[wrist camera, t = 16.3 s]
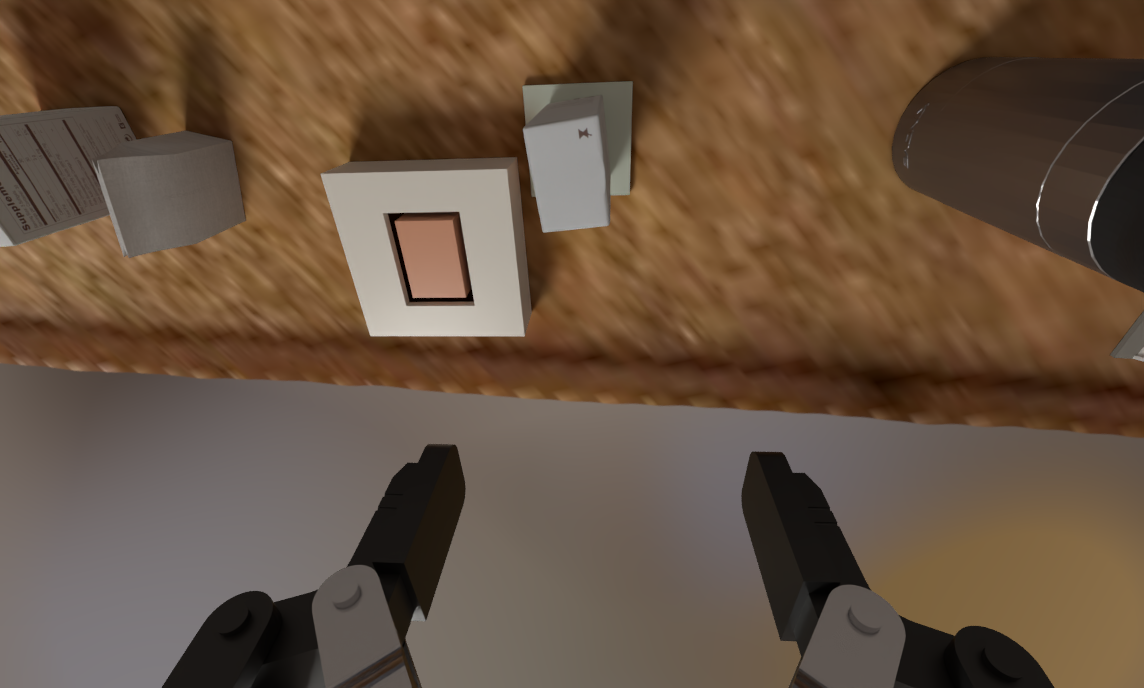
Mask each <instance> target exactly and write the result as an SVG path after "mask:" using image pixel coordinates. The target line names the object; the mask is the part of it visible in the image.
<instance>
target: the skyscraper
mask: <svg viewBox="0 0 1144 688" xmlns="http://www.w3.org/2000/svg"><path fill="white" fill-rule="evenodd" d="M1110 355H1111V356H1112V357H1114V358H1130V359H1136V360H1140V361H1144V311H1143V312H1142V314H1141V315H1140V316H1139V318H1138V319H1137V320H1136V322H1135V323H1134V324H1133V326H1132V327H1131V328H1130V329H1129V331H1128V332H1127V333H1126V335H1125V336H1124V337H1123V339H1122V340H1121V341H1120V343H1119V344H1118V345H1117V347H1116V348H1115V349H1114V350H1113V352H1112V353H1111V354H1110Z"/></svg>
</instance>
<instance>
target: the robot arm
mask: <svg viewBox="0 0 1144 688" xmlns="http://www.w3.org/2000/svg"><path fill="white" fill-rule="evenodd" d="M892 160H893V164H894V167H895V171H896V173H897V174H898V176H899V178H900V179H901V181H903V182H904V183H905V184H906V185H907V186H908V187H909V188H911V189H914V190H916V191H918V192H920V193H922V194H924V195H926V196H929V197H931V198H933V199H935V200H937V201H940V202H942V203H943V204H946V205H948V206H950V207H952V208H955V209H957V210H959V211H961V212H963V213H966V214H968V215H970V216H972V217H975V218H977V219H979V220H981V221H984V222H986V223H988V224H990V225H993V226H995V227H997V228H999V229H1002V230H1004V231H1006V232H1008V233H1010V234H1013V235H1015V236H1017V237H1019V238H1022V239H1024V240H1026V241H1028V242H1031V243H1033V244H1035V245H1037V246H1040V247H1042V248H1044V249H1046V250H1049V251H1051V252H1053V253H1055V254H1057V255H1060V256H1062V257H1065V258H1067V259H1069V260H1072V261H1074V262H1076V263H1078V264H1081V265H1083V266H1085V267H1087V268H1090V269H1092V270H1094V271H1096V272H1099V273H1101V274H1103V275H1105V276H1108V277H1110V278H1112V279H1115V280H1117V281H1119V282H1121V283H1123V284H1126V285H1128V286H1130V287H1133V288H1135V289H1137V290H1140V291H1142V292H1144V59H1098V58H1033V57H989V58H978V59H974V60H970V61H966V62H963V63H961V64H959V65H956V66H954V67H952V68H950V69H948V70H946V71H945V72H943V73H942V74H940V75H939V76H937V77H936V78H934V79H933V80H932V81H931V82H930V83H929V84H927V85H926V86H925V87H924V88H923V89H922V90H921V91H920V92H919V93H918V94H917V95H916V97H915V98H914V99H913V100H912V101H911V103H910V104H909V105H908V107H907V109H906V110H905V112H904V114H903V115H902V117H901V119H900V121H899V124H898V126H897V129H896V131H895V135H894V140H893V145H892ZM464 499H465V480H464V475H463V471H462V466H461V462H460V458H459V454H458V449H457V447H456V445H448V444H443V445H442V444H428V445H427V446H426V447H425V449H424V451H423V453H422V455H421V458H420V460H419V462H418V463H407V464H406V465H405V466H404V467H403V468H402V469H401V470H400V471H399V472H398V473H397V474H396V475H395V476H394V477H393V478H392V480H391V482H390V484H389V486H388V488H387V490H386V492H385V496H384V497H383V498H382V500H381V502H380V504H379V506H378V510H377V511H376V512H375V514H374V516H373V518H372V519H371V522H370V524H369V526H368V527H367V529H366V531H365V533H364V535H363V537H362V539H361V541H360V543H359V545H358V547H357V549H356V551H355V553H354V555H353V557H352V559H351V561H350V562H349V564H348V566H347V567H346V568H343V569H341V570H339V571H337V572H336V573H334V574H333V575H331V576H330V577H329V578H328V579H327V580H326V581H325V582H324V583H323V584H322V585H321V586H320V588H319V589H318V590H316V591H313V592H310V593H307V594H303V595H299V596H296V597H292V598H288V599H285V600H281V601H277V602H273V601H272V599H271V598H270V597H269V596H268V595H267V594H266V593H264V592H260V591H249V592H245V593H242V594H239V595H237V596H235V597H233V598H231V599H229V600H227V601H226V602H224V603H223V604H222V605H220V606H219V607H218V608H217V609H216V610H215V611H213V612H212V614H211V615H210V616H209V617H208V618H207V619H206V621H205V622H204V624H203V625H202V627H201V628H200V630H199V631H198V633H197V634H196V636H195V637H194V639H193V640H192V642H191V643H190V645H189V646H188V648H187V649H186V651H185V653H184V654H183V656H182V657H181V659H180V660H179V662H178V663H177V665H176V666H175V668H174V669H173V671H172V672H171V674H170V675H169V677H168V679H167V680H166V682H165V683H164V685H163V686H162V688H422V687H421V683H420V680H419V677H418V675H417V671H416V669H415V666H414V663H413V660H412V657H411V654H410V651H409V648H408V645H407V642H406V639H405V637H406V634H407V631H408V628H409V626H410V622H411V621H426V619H427V616H428V613H429V610H430V607H431V604H432V600H433V597H434V594H435V591H436V588H437V585H438V582H439V579H440V576H441V573H442V569H443V566H444V563H445V560H446V557H447V554H448V551H449V548H450V544H451V541H452V538H453V535H454V532H455V529H456V526H457V523H458V520H459V516H460V513H461V510H462V507H463V504H464ZM742 509H743V514H744V517H745V521H746V524H747V528H748V531H749V534H750V538H751V541H752V545H753V548H754V551H755V555H756V558H757V562H758V565H759V569H760V571H761V575H762V579H763V582H764V585H765V589H766V592H767V596H768V599H769V603H770V606H771V609H772V613H773V616H774V620H775V623H776V626H777V630H778V633H779V637H780V640H781V641H797V644H798V648H799V651H800V654H801V659H800V661H799V664H798V666H797V668H796V671H795V673H794V676H793V678H792V680H791V683H790V685H789V688H1054V686H1053V685H1052V683H1051V682H1050V680H1049V679H1048V677H1047V675H1046V674H1045V672H1044V671H1043V669H1042V668H1041V667H1040V665H1039V664H1038V662H1037V661H1036V660H1035V659H1034V658H1033V657H1032V656H1031V655H1030V654H1029V653H1028V652H1027V651H1026V650H1025V649H1024V648H1023V647H1021V646H1020V645H1019V644H1018V643H1016V642H1015V641H1013V640H1012V639H1010V638H1009V637H1007V636H1005V635H1003V634H1001V633H1000V632H997V631H995V630H992V629H989V628H986V627H981V626H968V627H965V628H962V629H961V630H960V631H959V632H958V633H957V634H956V635H955V636H953V635H951V634H947V633H945V632H942V631H939V630H935V629H933V628H929V627H927V626H924V625H921V624H918V623H915V622H912V621H910V620H908V619H906V618H904V617H902V616H900V615H898V614H897V612H896V611H895V610H894V608H893V607H892V606H891V605H890V604H889V603H888V602H887V601H886V600H884V599H883V598H882V597H881V596H879V595H878V594H876V593H874V592H873V591H871V589H870V588H869V586H868V584H867V582H866V581H865V578H864V576H863V574H862V572H861V570H860V568H859V566H858V564H857V562H856V560H855V558H854V556H853V554H852V552H851V550H850V548H849V546H848V544H847V542H846V540H845V538H844V536H843V534H842V531H841V529H840V527H838V526H837V521H836V519H835V517H834V515H833V513H832V511H830V507H829V505H828V503H827V501H826V499H825V497H824V495H823V492H822V490H821V489H820V488H819V487H818V486H817V485H816V484H815V483H814V482H813V481H812V480H811V479H810V478H809V477H808V476H807V475H806V474H805V473H792V470H791V469H790V466H789V464H788V461H787V459H786V457H785V455H784V454H783V453H782V452H751V454H750V457H749V462H748V466H747V471H746V475H745V479H744V484H743V488H742Z"/></svg>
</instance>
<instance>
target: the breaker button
mask: <svg viewBox="0 0 1144 688" xmlns="http://www.w3.org/2000/svg"><path fill="white" fill-rule="evenodd" d="M395 225H396V229H397V233H398V237H399V242H400V246H401V250H402V254H403V258H404V262H405V267H406V271H407V275H408V279H409V283H410V287H411V292H412V296H413V298H466V297H467V295H468V293H469V291H470V290H471V288H472V286H471V280H470V274H469V268H468V262H467V256H466V250H465V244H464V237H463V231H462V225H461V219H460V213H459V212H420V213H405V214H403V215H402V216H401V217H400V218H398V219H397V220H396V221H395Z"/></svg>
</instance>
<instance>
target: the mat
mask: <svg viewBox="0 0 1144 688" xmlns="http://www.w3.org/2000/svg"><path fill="white" fill-rule="evenodd" d="M632 89H633V81H623V82H597V83H572V84H547V85H524V86H523V97H524V110H525V122H526V124H528V123H529V122H530V121H531V120H532V119H533V118H534V117H535V116H536V115H537V114H538V113H539V112H540V111H541V110H542V109H543V108H544V107H545V106H546V105H547V104H549V103H555V102H561V101H566V100H572V99H578V98H584V97H591V96H598V95H602V96H603V104H604V113H605V122H606V131H607V141H608V151H609V161H610V175H611V179H610V195H630V163H631V126H632ZM529 171H530V167H529ZM530 183H531V195H532V197H536V195H535V190H534V185H533V181H532V176H531V172H530Z"/></svg>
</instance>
